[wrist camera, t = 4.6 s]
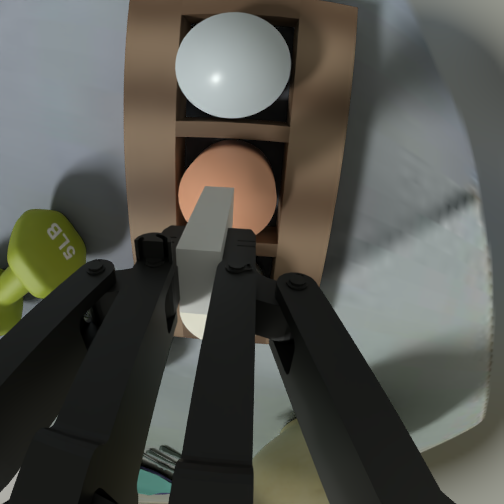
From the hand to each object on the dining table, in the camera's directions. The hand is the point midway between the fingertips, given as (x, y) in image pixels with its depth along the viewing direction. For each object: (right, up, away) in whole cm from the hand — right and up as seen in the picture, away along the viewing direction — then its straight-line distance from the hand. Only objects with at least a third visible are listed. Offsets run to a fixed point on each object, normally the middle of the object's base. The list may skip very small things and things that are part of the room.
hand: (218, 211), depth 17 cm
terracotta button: (0, +3, +6) cm, 7 cm away
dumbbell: (-20, -3, +11) cm, 23 cm away
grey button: (+1, +9, +1) cm, 10 cm away
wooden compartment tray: (0, +3, +7) cm, 7 cm away
